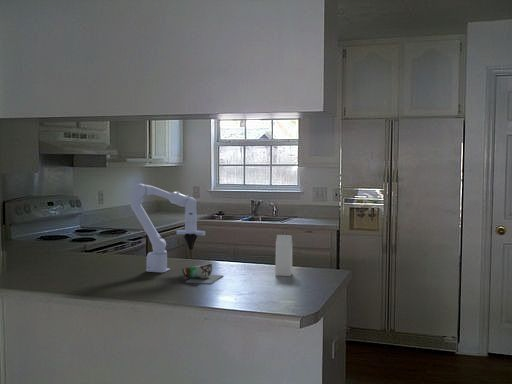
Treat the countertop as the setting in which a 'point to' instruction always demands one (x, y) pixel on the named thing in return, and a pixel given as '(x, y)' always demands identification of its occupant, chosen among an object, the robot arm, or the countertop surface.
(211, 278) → the mat
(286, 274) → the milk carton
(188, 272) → the food container
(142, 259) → the countertop surface
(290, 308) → the countertop surface
